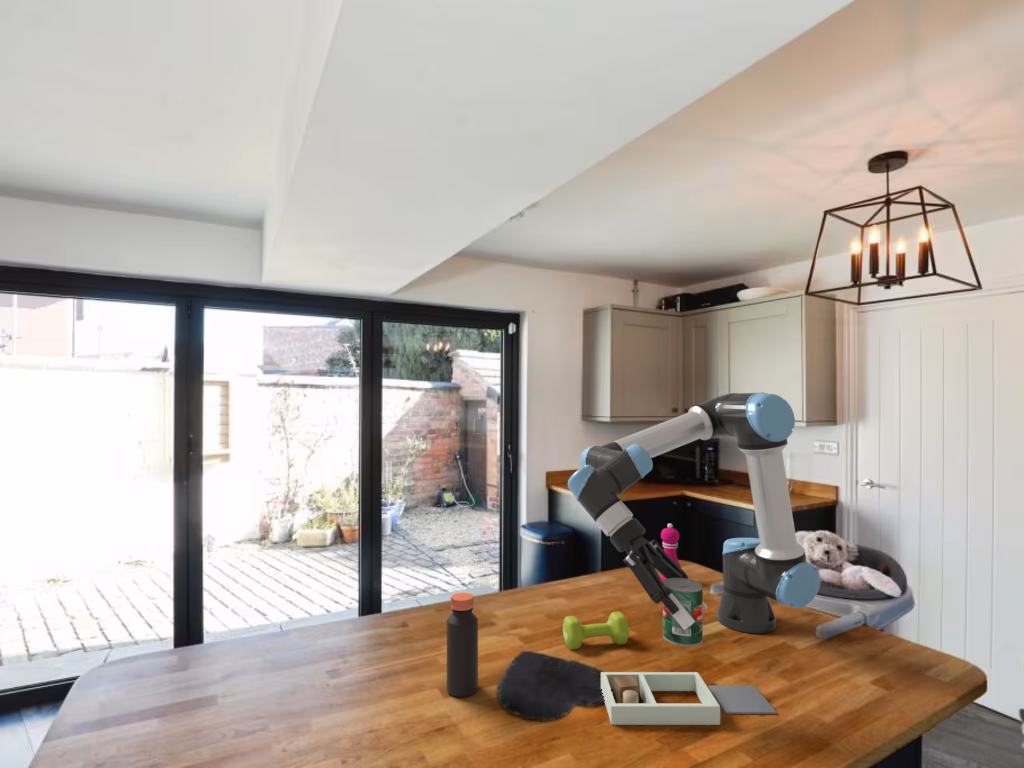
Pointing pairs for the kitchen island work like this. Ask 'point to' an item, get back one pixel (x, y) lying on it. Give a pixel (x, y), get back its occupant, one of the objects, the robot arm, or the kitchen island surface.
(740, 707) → the slate coaster
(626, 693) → the beech dowel
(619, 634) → the dumbbell
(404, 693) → the kitchen island surface
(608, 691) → the caddy
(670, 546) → the pepper mill
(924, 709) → the kitchen island surface
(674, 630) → the canned tomato
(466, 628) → the bottle
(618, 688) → the walnut block
